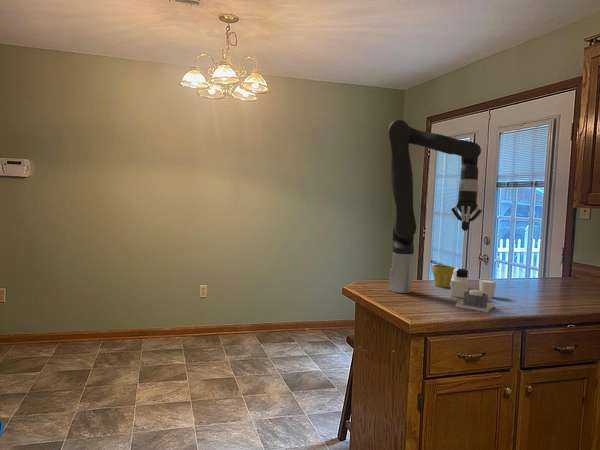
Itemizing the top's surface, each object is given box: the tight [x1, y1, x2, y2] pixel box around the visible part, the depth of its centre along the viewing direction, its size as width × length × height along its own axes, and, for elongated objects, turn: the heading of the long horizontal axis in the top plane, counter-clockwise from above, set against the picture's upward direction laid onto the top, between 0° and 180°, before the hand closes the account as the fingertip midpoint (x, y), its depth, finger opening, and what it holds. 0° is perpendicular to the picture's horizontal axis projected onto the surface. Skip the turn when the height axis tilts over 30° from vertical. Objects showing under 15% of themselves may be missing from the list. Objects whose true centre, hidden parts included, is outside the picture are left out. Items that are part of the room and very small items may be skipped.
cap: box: [468, 289, 483, 296], centre depth 181 cm, size 5×5×5 cm
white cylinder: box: [478, 279, 497, 299], centre depth 201 cm, size 7×7×7 cm
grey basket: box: [455, 290, 495, 313], centre depth 181 cm, size 12×12×5 cm
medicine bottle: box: [449, 268, 470, 299], centre depth 199 cm, size 7×7×12 cm
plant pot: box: [431, 264, 455, 288], centre depth 220 cm, size 10×10×10 cm
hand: (465, 230), depth 196 cm, fingers closed
